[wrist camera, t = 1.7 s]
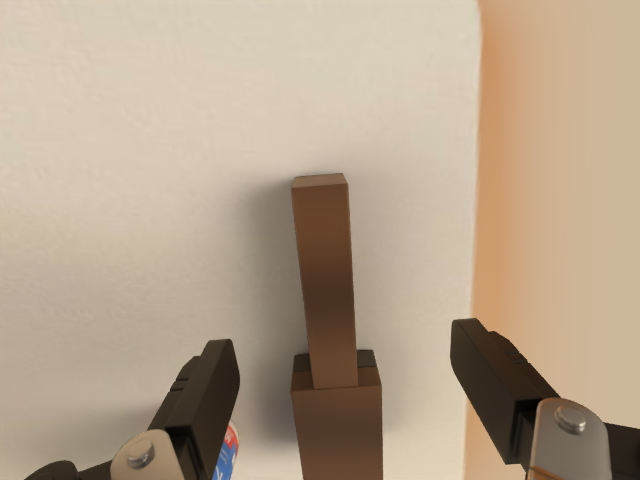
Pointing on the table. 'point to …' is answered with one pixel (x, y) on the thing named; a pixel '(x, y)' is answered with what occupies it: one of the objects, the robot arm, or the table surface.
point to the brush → (332, 344)
